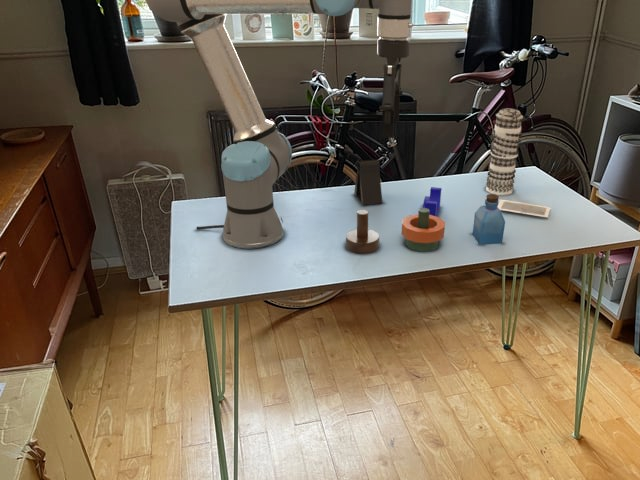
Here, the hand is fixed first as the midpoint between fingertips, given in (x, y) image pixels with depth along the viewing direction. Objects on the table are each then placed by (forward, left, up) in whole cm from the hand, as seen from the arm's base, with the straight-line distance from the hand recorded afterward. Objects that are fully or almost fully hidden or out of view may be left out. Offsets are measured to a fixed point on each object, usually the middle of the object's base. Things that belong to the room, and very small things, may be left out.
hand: (390, 129), depth 146 cm
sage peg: (+10, -9, -27) cm, 30 cm away
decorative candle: (+32, +33, -27) cm, 53 cm away
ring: (+10, -9, -24) cm, 27 cm away
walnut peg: (-5, -13, -27) cm, 30 cm away
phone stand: (-8, +18, -27) cm, 33 cm away
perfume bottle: (+27, -3, -27) cm, 38 cm away
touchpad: (+38, +17, -27) cm, 50 cm away
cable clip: (+11, +10, -27) cm, 31 cm away
